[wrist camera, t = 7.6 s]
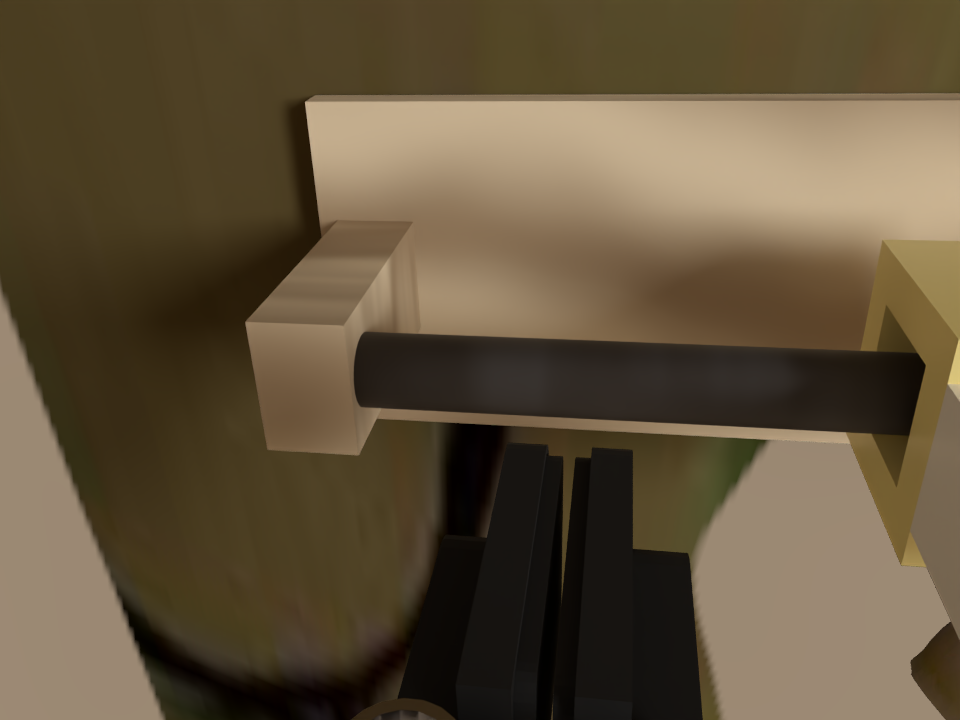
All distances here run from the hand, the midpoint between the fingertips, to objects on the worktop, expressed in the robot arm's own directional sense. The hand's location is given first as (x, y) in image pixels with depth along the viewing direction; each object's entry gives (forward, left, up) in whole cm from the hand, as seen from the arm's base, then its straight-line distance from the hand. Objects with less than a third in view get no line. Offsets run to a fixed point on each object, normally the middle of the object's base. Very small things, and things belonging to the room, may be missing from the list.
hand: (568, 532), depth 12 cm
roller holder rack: (+1, +4, -12) cm, 13 cm away
